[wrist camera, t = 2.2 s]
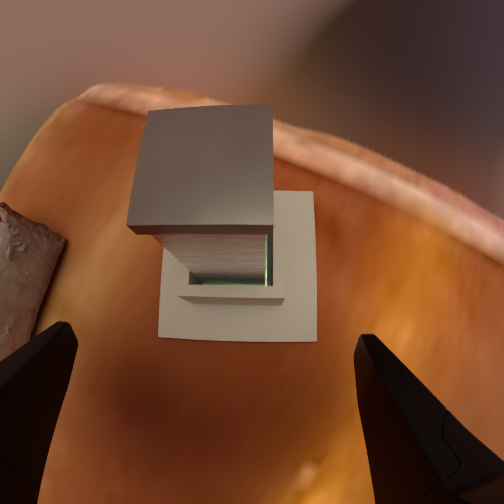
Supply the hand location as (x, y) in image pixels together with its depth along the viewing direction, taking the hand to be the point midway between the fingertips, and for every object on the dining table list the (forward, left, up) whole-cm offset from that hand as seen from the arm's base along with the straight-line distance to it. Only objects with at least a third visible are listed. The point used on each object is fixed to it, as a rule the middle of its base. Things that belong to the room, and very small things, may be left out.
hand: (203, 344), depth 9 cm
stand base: (+4, +2, -12) cm, 13 cm away
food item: (-8, +17, -12) cm, 22 cm away
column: (+4, +2, -11) cm, 12 cm away
